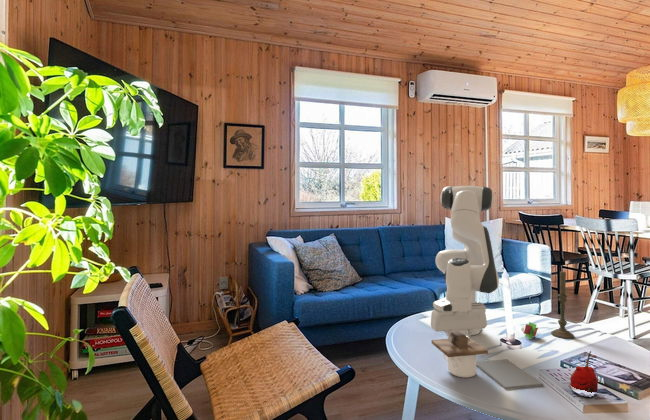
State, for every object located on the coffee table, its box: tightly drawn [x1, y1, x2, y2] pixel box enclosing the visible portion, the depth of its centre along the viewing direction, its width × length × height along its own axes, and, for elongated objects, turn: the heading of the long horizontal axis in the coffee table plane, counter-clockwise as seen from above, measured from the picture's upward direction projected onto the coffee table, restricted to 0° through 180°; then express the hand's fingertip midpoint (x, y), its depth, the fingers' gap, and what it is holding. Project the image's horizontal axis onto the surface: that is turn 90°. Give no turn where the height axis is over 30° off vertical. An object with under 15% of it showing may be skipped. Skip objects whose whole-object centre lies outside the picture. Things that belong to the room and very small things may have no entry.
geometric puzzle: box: [520, 321, 540, 340], centre depth 173 cm, size 7×7×8 cm
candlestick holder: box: [550, 270, 575, 340], centre depth 175 cm, size 9×9×30 cm
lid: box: [431, 331, 489, 358], centre depth 139 cm, size 13×15×5 cm
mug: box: [443, 353, 477, 379], centre depth 139 cm, size 12×10×9 cm
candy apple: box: [569, 350, 599, 393], centre depth 123 cm, size 8×7×15 cm
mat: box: [476, 358, 545, 390], centre depth 137 cm, size 20×14×1 cm
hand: (458, 341), depth 139 cm, fingers open, 5 cm apart
